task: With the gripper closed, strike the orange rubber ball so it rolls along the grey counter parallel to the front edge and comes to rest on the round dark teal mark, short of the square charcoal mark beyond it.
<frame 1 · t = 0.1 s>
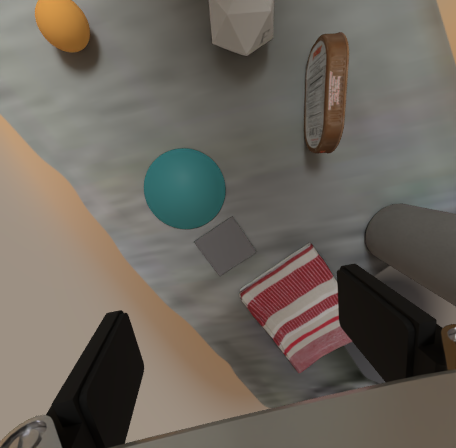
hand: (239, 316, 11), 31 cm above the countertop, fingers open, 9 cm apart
die: (237, 31, 35), on the countertop
tin: (309, 104, 39), on the countertop
ball: (63, 24, 30), on the countertop
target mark: (185, 190, 40), on the countertop
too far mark: (225, 246, 43), on the countertop
canister: (390, 231, 46), on the countertop
dish towel: (301, 307, 49), on the countertop
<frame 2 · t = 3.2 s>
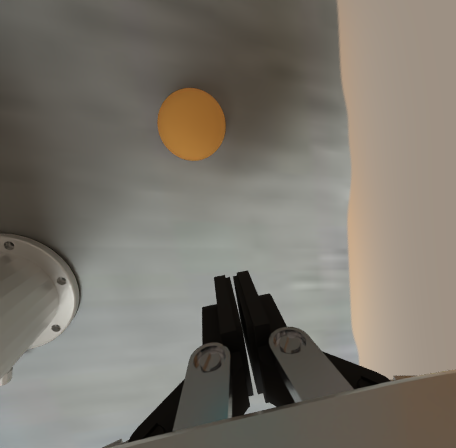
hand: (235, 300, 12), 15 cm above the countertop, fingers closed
ball: (192, 126, 20), on the countertop
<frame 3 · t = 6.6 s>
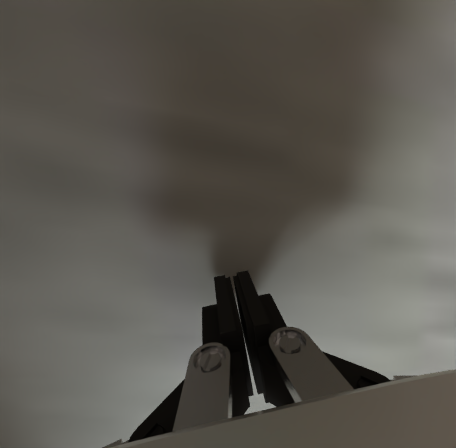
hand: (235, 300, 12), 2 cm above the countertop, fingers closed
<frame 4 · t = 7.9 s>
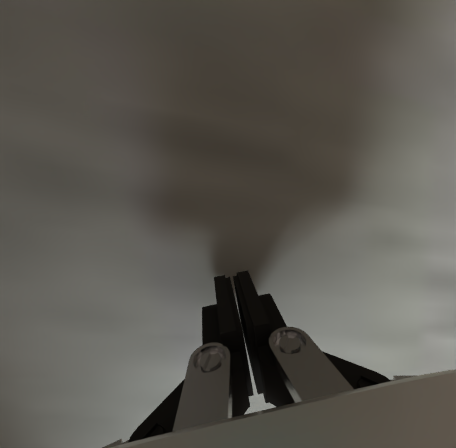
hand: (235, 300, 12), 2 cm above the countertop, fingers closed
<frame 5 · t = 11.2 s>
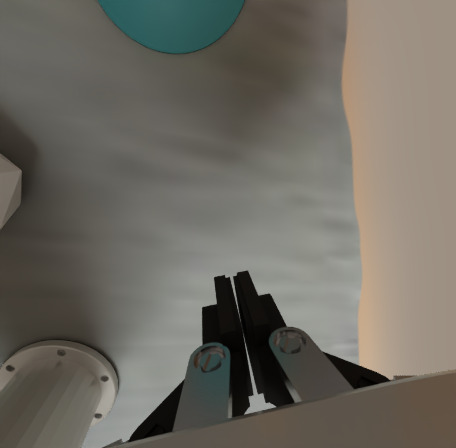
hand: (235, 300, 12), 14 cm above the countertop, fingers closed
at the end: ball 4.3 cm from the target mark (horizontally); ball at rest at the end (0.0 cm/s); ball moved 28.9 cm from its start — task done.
